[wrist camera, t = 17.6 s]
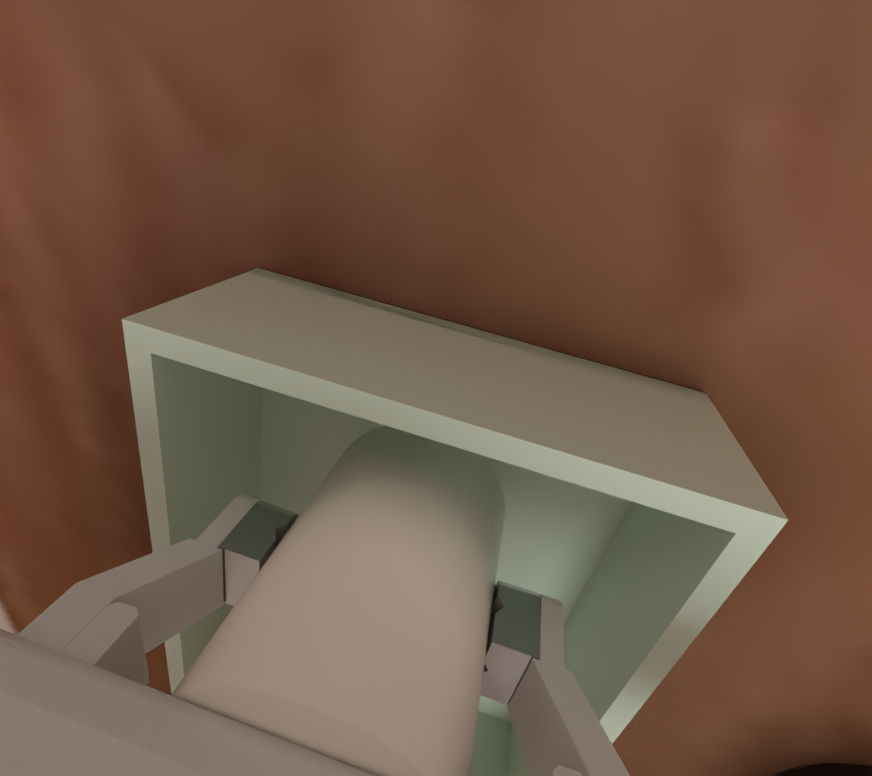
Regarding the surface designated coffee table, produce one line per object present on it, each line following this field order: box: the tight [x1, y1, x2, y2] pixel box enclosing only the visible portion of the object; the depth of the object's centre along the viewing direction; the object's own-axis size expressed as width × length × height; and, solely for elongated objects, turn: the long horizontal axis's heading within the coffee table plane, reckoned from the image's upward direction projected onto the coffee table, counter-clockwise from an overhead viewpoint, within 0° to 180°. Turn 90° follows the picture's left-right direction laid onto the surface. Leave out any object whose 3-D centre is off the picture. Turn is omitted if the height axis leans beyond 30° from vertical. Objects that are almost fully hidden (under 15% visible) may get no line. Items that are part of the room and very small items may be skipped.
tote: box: [122, 268, 788, 776], centre depth 15 cm, size 17×13×5 cm
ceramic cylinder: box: [171, 426, 505, 776], centre depth 10 cm, size 5×5×7 cm
